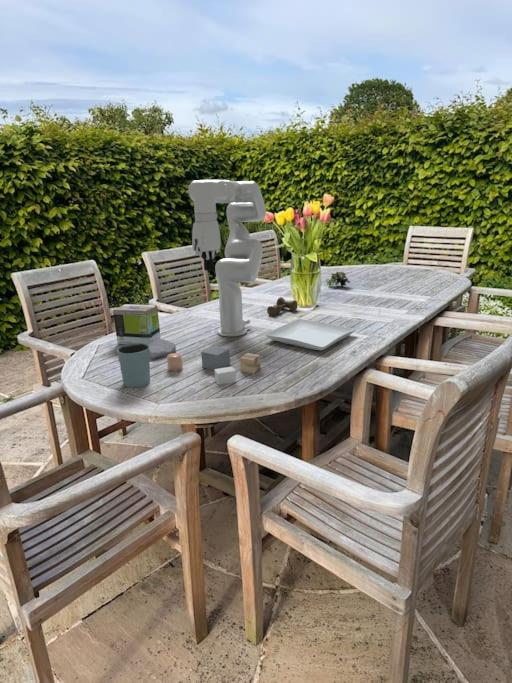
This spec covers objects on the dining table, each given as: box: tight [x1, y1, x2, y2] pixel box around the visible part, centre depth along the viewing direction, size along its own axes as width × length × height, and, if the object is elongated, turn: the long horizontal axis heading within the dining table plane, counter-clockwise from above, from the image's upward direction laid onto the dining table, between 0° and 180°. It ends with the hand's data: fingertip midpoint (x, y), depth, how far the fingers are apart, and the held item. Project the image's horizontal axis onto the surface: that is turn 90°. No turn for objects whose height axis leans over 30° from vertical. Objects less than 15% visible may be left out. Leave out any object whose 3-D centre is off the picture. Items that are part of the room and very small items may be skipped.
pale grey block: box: [213, 366, 237, 385], centre depth 150 cm, size 6×4×4 cm, turn 109°
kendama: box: [266, 296, 298, 317], centre depth 227 cm, size 6×10×20 cm
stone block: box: [149, 338, 177, 360], centre depth 176 cm, size 12×5×10 cm
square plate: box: [264, 318, 356, 351], centre depth 187 cm, size 27×27×4 cm
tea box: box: [112, 303, 161, 345], centre depth 188 cm, size 15×10×15 cm, turn 74°
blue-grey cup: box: [116, 343, 151, 389], centre depth 150 cm, size 10×10×12 cm
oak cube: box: [239, 352, 261, 374], centre depth 158 cm, size 5×5×5 cm
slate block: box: [200, 345, 231, 371], centre depth 162 cm, size 7×7×6 cm
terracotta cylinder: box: [166, 352, 184, 373], centre depth 161 cm, size 5×5×5 cm
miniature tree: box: [325, 271, 351, 290], centre depth 272 cm, size 11×11×12 cm
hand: (208, 270), depth 168 cm, fingers closed
